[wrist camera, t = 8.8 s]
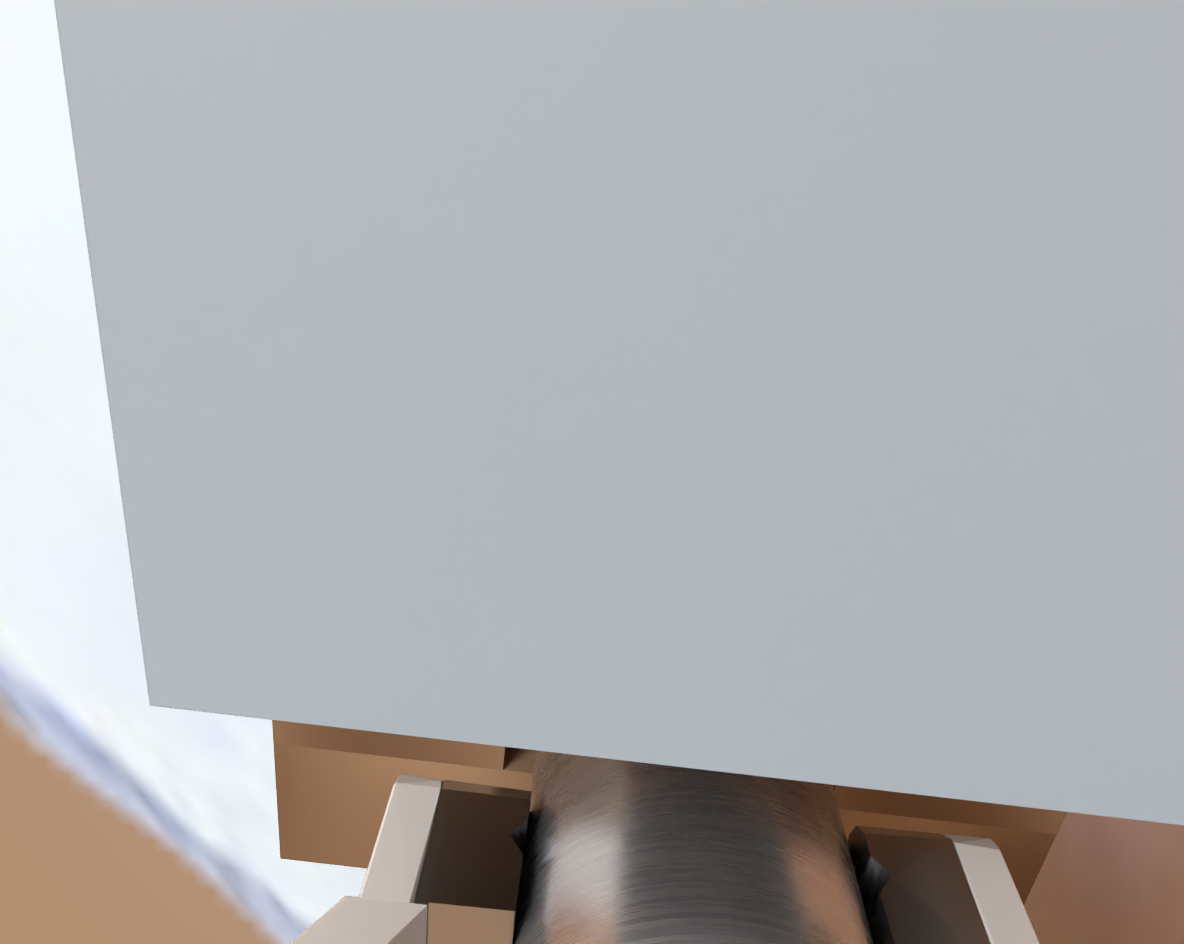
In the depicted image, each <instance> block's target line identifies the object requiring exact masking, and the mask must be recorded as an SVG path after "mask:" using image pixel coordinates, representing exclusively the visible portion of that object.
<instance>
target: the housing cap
mask: <svg viewBox="0 0 1184 944" xmlns="http://www.w3.org/2000/svg"><path fill="white" fill-rule="evenodd" d="M54 3H55V10H56V18H57V25H58V32H59V40H60V47H61V54H62V62H63V69H64V76H65V84H66V91H67V98H68V106H69V113H70V121H71V128H72V135H73V143H74V150H75V157H76V165H77V172H78V179H79V187H80V194H81V201H82V209H83V216H84V224H85V231H86V238H87V246H88V253H89V260H90V268H91V275H92V282H93V290H94V297H95V304H96V312H97V319H98V327H99V334H100V341H101V349H102V356H103V363H104V371H105V378H106V385H107V393H108V400H109V407H110V415H111V422H112V430H113V437H114V444H115V452H116V459H117V466H118V474H119V481H120V488H121V496H122V503H123V511H124V518H125V525H126V533H127V540H128V547H129V555H130V562H131V569H132V577H133V584H134V591H135V599H136V606H137V614H138V621H139V628H140V636H141V643H142V650H143V658H144V665H145V672H146V680H147V687H148V694H149V702H150V706H158V707H167V708H175V709H184V710H193V711H201V712H210V713H219V714H227V715H236V716H244V717H253V718H262V719H270V720H279V721H288V722H296V723H305V724H313V725H322V726H331V727H339V728H348V729H357V730H365V731H374V732H383V733H391V734H400V735H408V736H417V737H426V738H434V739H443V740H452V741H460V742H469V743H477V744H486V745H495V746H503V747H512V748H521V749H529V750H538V751H546V752H555V753H564V754H572V755H581V756H590V757H598V758H607V759H615V760H624V761H633V762H641V763H650V764H659V765H667V766H676V767H685V768H693V769H702V770H710V771H719V772H728V773H736V774H745V775H754V776H762V777H771V778H779V779H788V780H797V781H805V782H814V783H823V784H831V785H840V786H848V787H857V788H866V789H874V790H883V791H892V792H900V793H909V794H917V795H926V796H935V797H943V798H952V799H961V800H969V801H978V802H986V803H995V804H1004V805H1012V806H1021V807H1030V808H1038V809H1047V810H1056V811H1064V812H1073V813H1081V814H1090V815H1099V816H1107V817H1116V818H1125V819H1133V820H1142V821H1150V822H1159V823H1168V824H1176V825H1184V0H54Z"/></svg>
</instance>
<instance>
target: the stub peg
mask: <svg viewBox="0 0 1184 944" xmlns="http://www.w3.org/2000/svg"><path fill="white" fill-rule="evenodd" d="M530 791H532V795H531V807H530V817H529V825H528V833H527V842H526V850H525V858H524V862H523V865H522V874H521V885H520V896H519V904H518V911H517V918H516V926H515V933H514V940H513V944H874V943H873V939H872V935H871V932H870V928H869V924H868V920H867V916H866V912H865V908H864V904H863V900H862V896H861V893H860V889H859V885H858V881H857V877H856V873H855V869H854V865H853V861H852V857H851V854H850V850H849V846H848V842H847V838H846V834H845V830H844V826H843V822H842V818H841V815H840V811H839V807H838V803H837V799H836V795H835V791H834V787H833V785H831V784H823V783H814V782H805V781H797V780H788V779H779V778H771V777H762V776H754V775H745V774H736V773H728V772H719V771H710V770H702V769H693V768H685V767H676V766H667V765H659V764H650V763H641V762H633V761H624V760H615V759H607V758H598V757H590V756H581V755H572V754H564V753H555V752H546V751H538V750H535V756H534V764H533V772H532V780H531V788H530Z"/></svg>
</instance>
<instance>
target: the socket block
mask: <svg viewBox="0 0 1184 944" xmlns="http://www.w3.org/2000/svg"><path fill="white" fill-rule="evenodd" d="M272 724H273V740H274V757H275V773H276V790H277V806H278V823H279V839H280V856H281V858H282V859H290V860H299V861H308V862H316V863H325V864H334V865H343V866H351V867H360V868H368V866H369V863H370V859H371V856H372V853H373V850H374V846H375V843H376V840H377V837H378V833H379V830H380V827H381V824H382V820H383V817H384V814H385V811H386V807H387V804H388V801H389V798H390V794H391V791H392V788H393V785H394V784H395V782H396V780H397V779H398V777H399V775H407V776H414V777H422V778H429V779H437V780H444V781H445V780H451V781H458V782H466V783H473V784H481V785H488V786H496V787H503V788H511V789H518V790H526V791H530V788H531V780H532V772H533V764H534V756H535V750H529V749H521V748H512V747H503V746H495V745H486V744H477V743H469V742H460V741H452V740H443V739H434V738H426V737H417V736H408V735H400V734H391V733H383V732H374V731H365V730H357V729H348V728H339V727H331V726H322V725H313V724H305V723H296V722H288V721H279V720H272ZM833 787H834V791H835V795H836V799H837V803H838V807H839V811H840V815H841V818H842V822H843V826H844V830H845V834H846V838H847V840H848V837H849V834H850V832H851V831H852V830H853V829H854V828H855V826H856V825H857V826H867V827H877V828H887V829H898V830H908V831H918V832H929V833H939V834H942V835H946V834H948V835H958V836H968V837H978V838H988V839H992V840H993V841H994V842H995V843H996V844H997V845H998V847H999V849H1000V851H1001V853H1002V856H1003V858H1004V860H1005V863H1006V865H1007V867H1008V870H1009V872H1010V874H1011V877H1012V879H1013V881H1014V884H1015V886H1016V888H1017V891H1018V893H1019V895H1020V898H1021V900H1022V902H1023V905H1024V903H1025V901H1026V899H1027V896H1028V894H1029V892H1030V890H1031V888H1032V886H1033V884H1034V881H1035V879H1036V877H1037V875H1038V873H1039V871H1040V868H1041V866H1042V864H1043V862H1044V860H1045V858H1046V856H1047V853H1048V851H1049V849H1050V847H1051V845H1052V843H1053V840H1054V838H1055V836H1056V834H1057V832H1058V830H1059V828H1060V825H1061V823H1062V821H1063V819H1064V817H1065V815H1066V812H1064V811H1056V810H1047V809H1038V808H1030V807H1021V806H1012V805H1004V804H995V803H986V802H978V801H969V800H961V799H952V798H943V797H935V796H926V795H917V794H909V793H900V792H892V791H883V790H874V789H866V788H857V787H848V786H840V785H833Z"/></svg>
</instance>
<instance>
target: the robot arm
mask: <svg viewBox="0 0 1184 944" xmlns="http://www.w3.org/2000/svg"><path fill="white" fill-rule="evenodd" d="M531 795H532V791H526V790H518V789H511V788H503V787H496V786H488V785H481V784H473V783H466V782H458V781H451V780H445V781H444V780H437V779H429V778H422V777H414V776H407V775H399V777H398V779H397V780H396V782H395V784H394V785H393V788H392V791H391V794H390V798H389V801H388V804H387V807H386V811H385V814H384V817H383V820H382V824H381V827H380V830H379V833H378V837H377V840H376V843H375V846H374V850H373V853H372V856H371V859H370V863H369V866H368V869H367V872H366V876H365V879H364V882H363V885H362V889H361V892H360V895H359V897H350V896H345V897H344V898H342V899H341V900H340V901H339V902H338V903H337V904H335V905H334V906H333V907H332V908H331V909H330V910H328V911H327V912H326V913H325V914H324V915H323V916H321V917H320V918H319V919H318V920H317V921H315V922H314V923H313V924H312V925H311V926H310V927H308V928H307V929H306V930H305V931H304V932H303V933H301V934H300V935H299V936H298V937H297V938H296V939H294V940H293V941H292V942H291V943H290V944H513V940H514V933H515V926H516V918H517V911H518V904H519V896H520V885H521V874H522V865H523V862H524V858H525V850H526V842H527V833H528V825H529V817H530V807H531ZM847 842H848V846H849V850H850V854H851V857H852V861H853V865H854V869H855V873H856V877H857V881H858V885H859V889H860V893H861V896H862V900H863V904H864V908H865V912H866V916H867V920H868V924H869V928H870V932H871V935H872V939H873V943H874V944H1040V942H1039V940H1038V937H1037V935H1036V933H1035V930H1034V928H1033V926H1032V923H1031V921H1030V919H1029V916H1028V914H1027V912H1026V909H1025V907H1024V905H1023V902H1022V900H1021V898H1020V895H1019V893H1018V891H1017V888H1016V886H1015V884H1014V881H1013V879H1012V877H1011V874H1010V872H1009V870H1008V867H1007V865H1006V863H1005V860H1004V858H1003V856H1002V853H1001V851H1000V849H999V847H998V845H997V844H996V843H995V842H994V841H993V840H992V839H988V838H978V837H968V836H958V835H948V834H946V835H942V834H939V833H929V832H918V831H908V830H898V829H887V828H877V827H867V826H857V825H856V826H855V828H854V829H853V830H852V831H851V832H850V834H849V837H848V840H847Z"/></svg>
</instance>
